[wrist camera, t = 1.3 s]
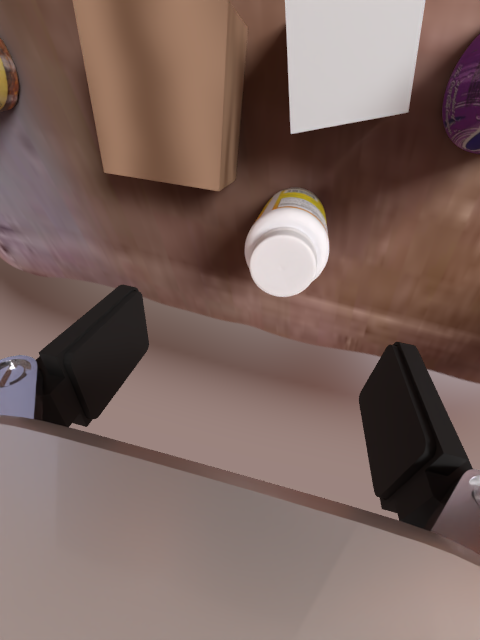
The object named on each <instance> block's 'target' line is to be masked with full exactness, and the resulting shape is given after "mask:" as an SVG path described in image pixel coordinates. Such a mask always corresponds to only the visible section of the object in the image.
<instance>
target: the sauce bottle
mask: <svg viewBox="0 0 480 640" xmlns="http://www.w3.org/2000/svg"><path fill="white" fill-rule="evenodd" d="M18 93H19V82H18V75H17V71H16V67H15V65H14V62H13V60H12V57H11V54H10V53H9V51H8V49H7V48H6V45H5V44H4V42H3V40H2V39H1V38H0V111H5V110H9V109H12V107H13V106H15V104H16V102H17V96H18Z"/></svg>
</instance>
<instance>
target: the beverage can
mask: <svg viewBox="0 0 480 640" xmlns="http://www.w3.org/2000/svg"><path fill="white" fill-rule="evenodd" d="M442 116H443V123H444V127H445V130H446V133H447V135H448V136H449V138H450V139H451V141H452V142H453V143H454V144H455V145H456V146H458V147H459V148H461V149H463V150H465V151H468V152H471V153H476V154H480V34H479V35H478V36H477V37H476V38H475V39H474V40H473V42H472V43H471V44H470V45H469V47H468V48H467V49H466V51H465V52H464V54H463V55H462V56H461V58H460V60H459V61H458V63H457V65H456V67H455V68H454V70H453V72H452V75H451V77H450V79H449V82H448V84H447V87H446V91H445V95H444V99H443V108H442Z"/></svg>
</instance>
